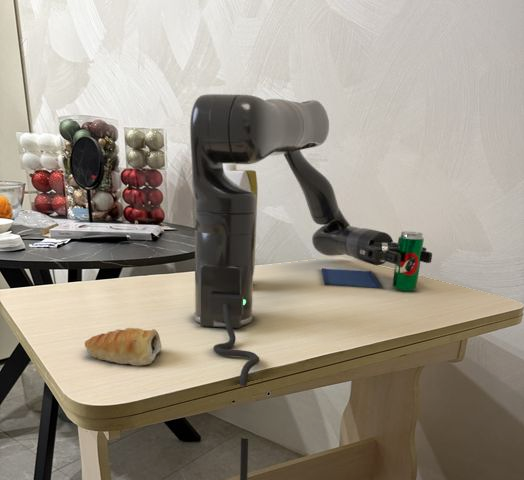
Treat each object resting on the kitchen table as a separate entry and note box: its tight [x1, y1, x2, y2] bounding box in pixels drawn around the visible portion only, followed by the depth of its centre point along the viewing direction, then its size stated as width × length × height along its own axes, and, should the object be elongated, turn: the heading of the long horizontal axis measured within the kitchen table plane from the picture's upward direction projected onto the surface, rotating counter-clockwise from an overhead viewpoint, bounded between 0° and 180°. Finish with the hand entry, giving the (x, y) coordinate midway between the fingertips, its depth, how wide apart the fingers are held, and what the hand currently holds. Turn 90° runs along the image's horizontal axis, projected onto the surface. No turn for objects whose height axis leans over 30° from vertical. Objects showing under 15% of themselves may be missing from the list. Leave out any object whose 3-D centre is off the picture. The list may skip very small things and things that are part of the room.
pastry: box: [84, 327, 162, 367], centre depth 67 cm, size 9×7×4 cm
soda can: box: [391, 230, 425, 293], centre depth 110 cm, size 5×5×12 cm
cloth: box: [321, 267, 382, 289], centre depth 119 cm, size 16×12×1 cm
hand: (415, 258), depth 107 cm, fingers open, 7 cm apart
